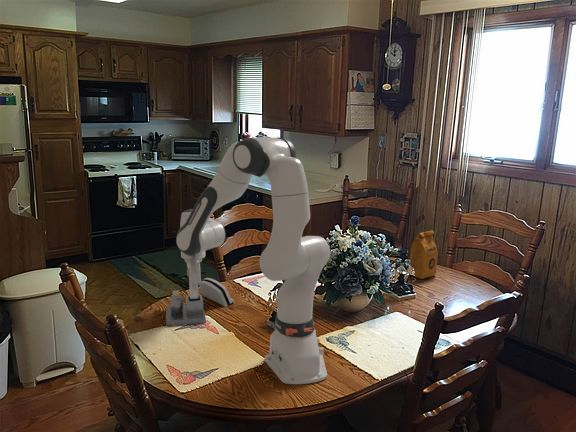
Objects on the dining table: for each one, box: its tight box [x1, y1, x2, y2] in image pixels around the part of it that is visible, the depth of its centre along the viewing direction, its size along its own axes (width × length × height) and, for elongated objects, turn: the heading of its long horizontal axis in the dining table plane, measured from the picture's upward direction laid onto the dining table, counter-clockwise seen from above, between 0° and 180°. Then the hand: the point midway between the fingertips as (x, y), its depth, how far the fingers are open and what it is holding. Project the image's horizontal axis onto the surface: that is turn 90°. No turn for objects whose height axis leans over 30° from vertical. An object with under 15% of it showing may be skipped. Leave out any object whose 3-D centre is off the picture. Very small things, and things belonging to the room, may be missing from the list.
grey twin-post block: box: [165, 289, 207, 327], centre depth 184 cm, size 16×14×8 cm
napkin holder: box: [198, 277, 236, 308], centre depth 199 cm, size 17×5×10 cm, turn 43°
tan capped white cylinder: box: [186, 268, 199, 299], centre depth 182 cm, size 4×4×10 cm
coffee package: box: [409, 230, 438, 280], centre depth 231 cm, size 10×12×22 cm
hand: (194, 287), depth 182 cm, fingers closed on tan capped white cylinder, 4 cm apart
